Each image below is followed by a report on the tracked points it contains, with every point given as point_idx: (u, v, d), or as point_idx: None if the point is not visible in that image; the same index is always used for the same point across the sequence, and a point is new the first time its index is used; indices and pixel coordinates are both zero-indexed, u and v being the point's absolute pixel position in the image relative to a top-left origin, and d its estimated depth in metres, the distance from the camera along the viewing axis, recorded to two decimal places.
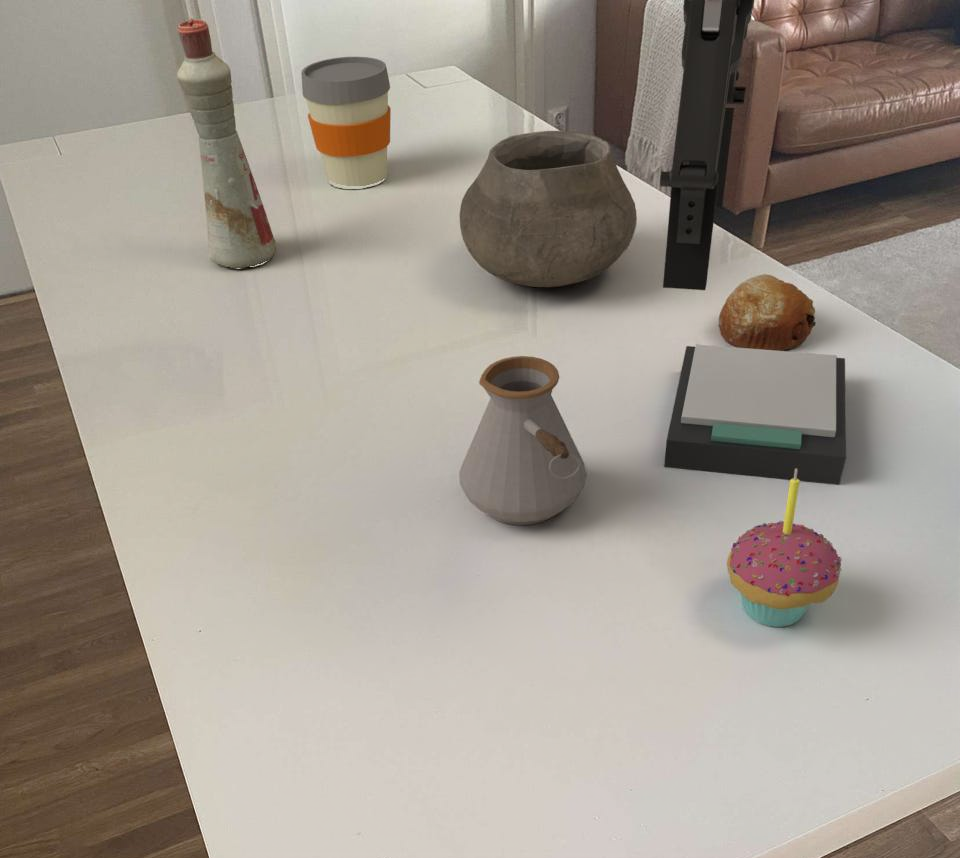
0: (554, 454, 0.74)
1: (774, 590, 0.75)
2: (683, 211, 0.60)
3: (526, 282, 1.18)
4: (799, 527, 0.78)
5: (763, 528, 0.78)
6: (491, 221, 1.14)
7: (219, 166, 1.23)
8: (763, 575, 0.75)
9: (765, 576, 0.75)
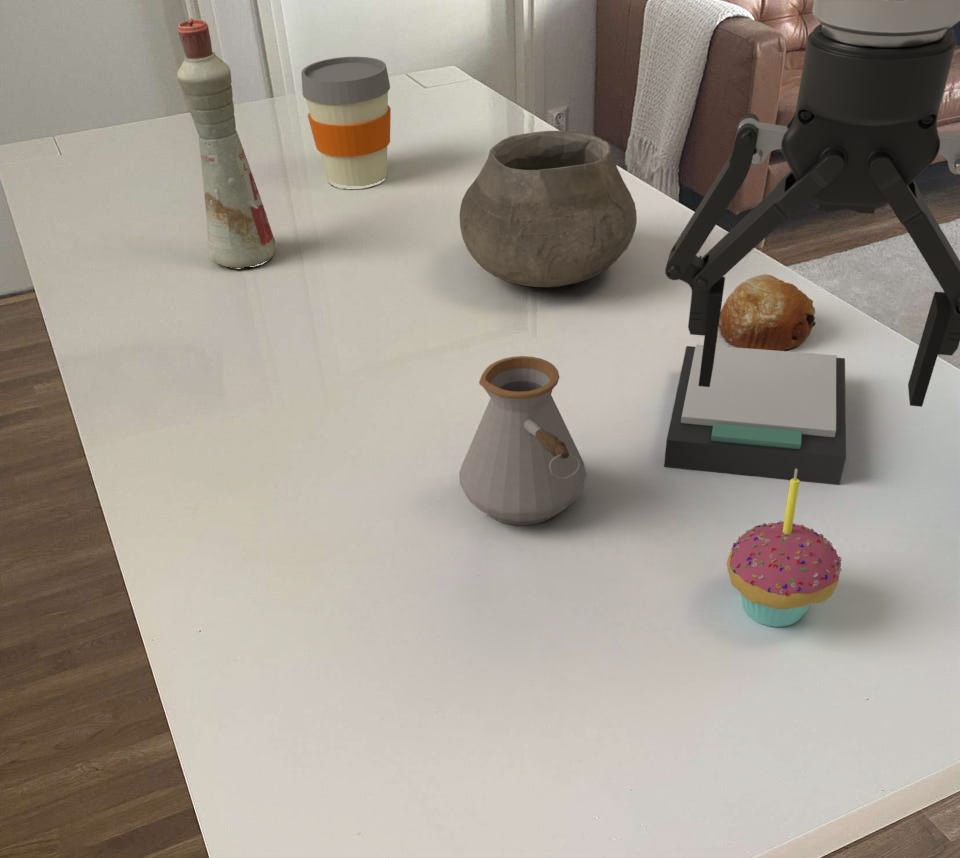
0: (554, 454, 0.74)
1: (774, 590, 0.75)
2: None
3: (526, 282, 1.18)
4: (799, 527, 0.78)
5: (763, 528, 0.78)
6: (491, 221, 1.14)
7: (219, 166, 1.23)
8: (763, 575, 0.75)
9: (765, 576, 0.75)
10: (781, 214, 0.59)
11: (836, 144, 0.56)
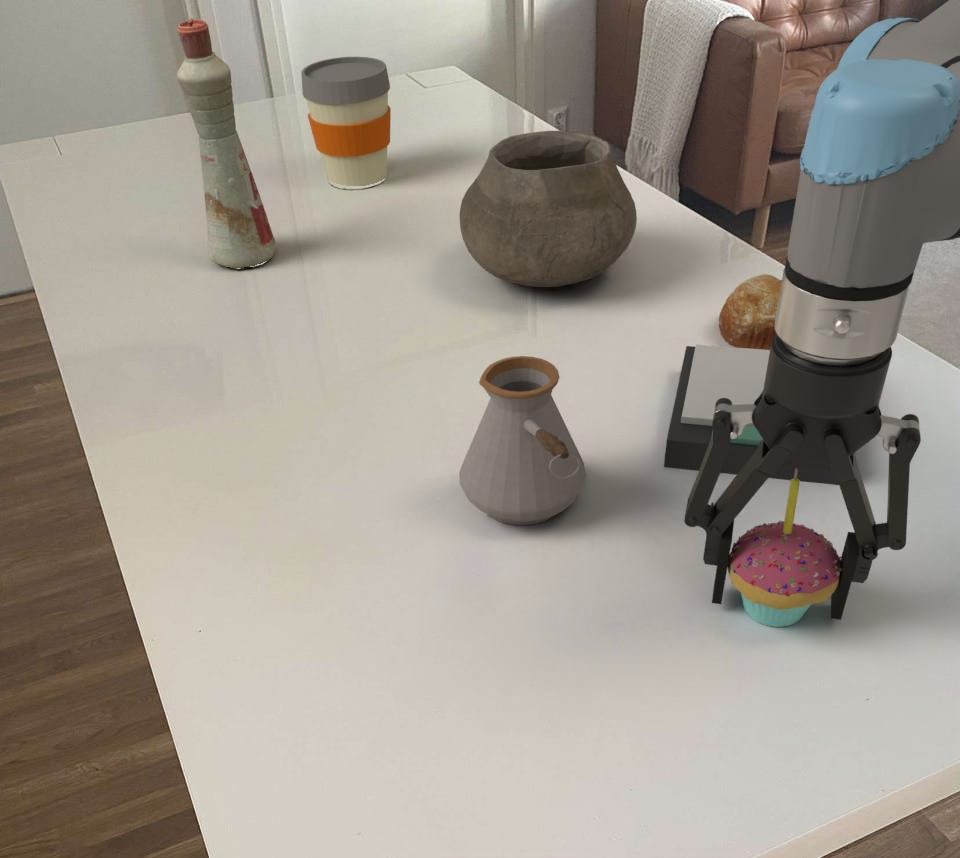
0: (554, 454, 0.74)
1: (775, 590, 0.75)
2: (871, 561, 0.75)
3: (526, 282, 1.18)
4: (799, 527, 0.78)
5: (763, 528, 0.78)
6: (491, 221, 1.14)
7: (219, 166, 1.23)
8: (763, 575, 0.75)
9: (765, 576, 0.75)
10: (764, 474, 0.71)
11: (797, 420, 0.68)
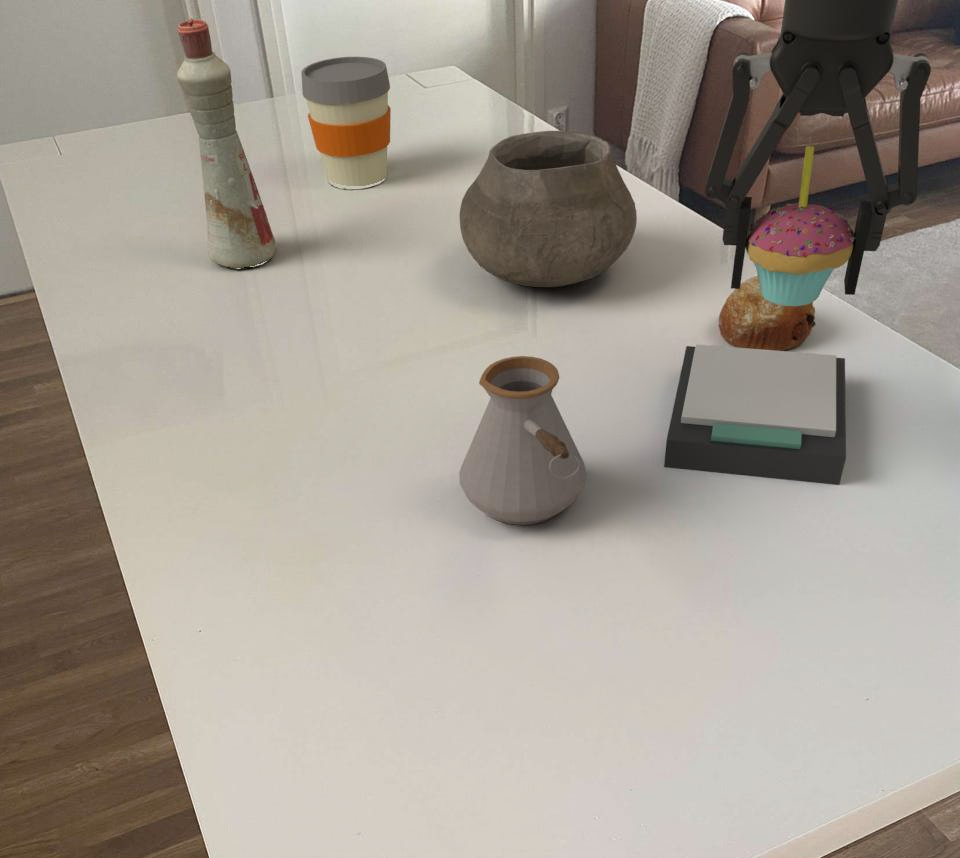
0: (554, 454, 0.74)
1: (792, 253, 0.79)
2: (883, 225, 0.79)
3: (526, 282, 1.18)
4: None
5: None
6: (491, 221, 1.14)
7: (219, 166, 1.23)
8: (781, 241, 0.79)
9: (783, 241, 0.79)
10: (782, 127, 0.75)
11: (813, 59, 0.72)
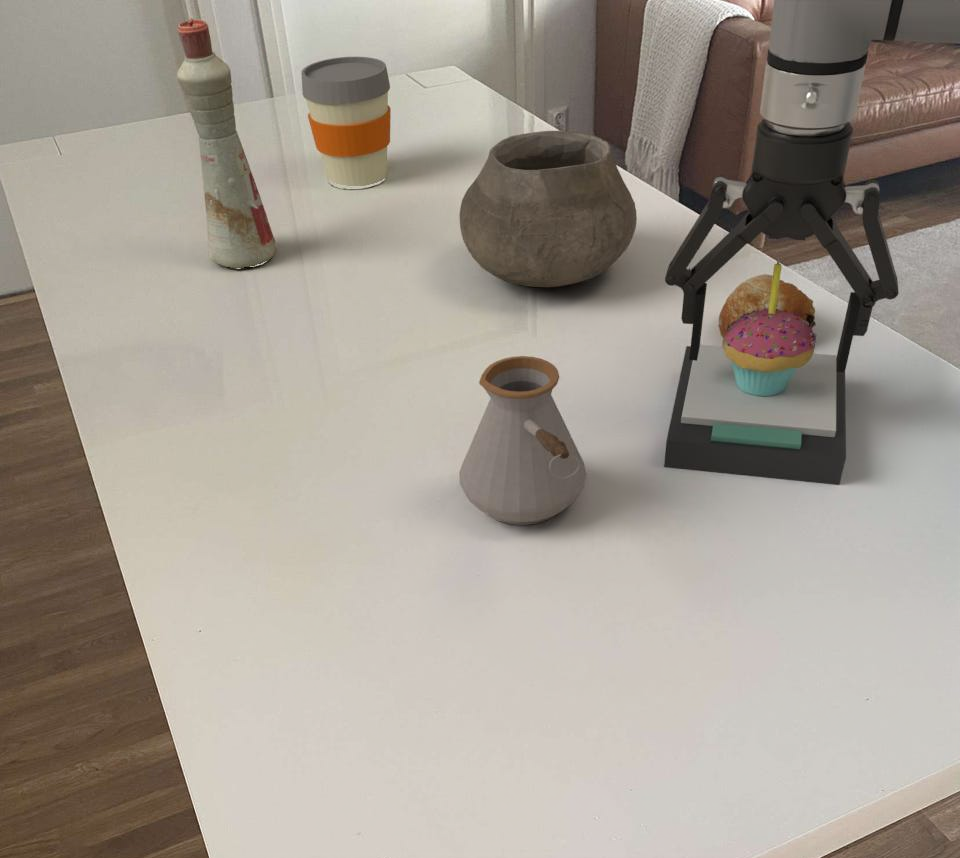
0: (554, 454, 0.74)
1: (761, 355, 0.92)
2: None
3: (526, 282, 1.18)
4: (782, 310, 0.95)
5: (752, 312, 0.95)
6: (491, 221, 1.14)
7: (219, 166, 1.23)
8: (752, 344, 0.92)
9: (753, 344, 0.92)
10: (743, 241, 0.88)
11: (778, 195, 0.85)
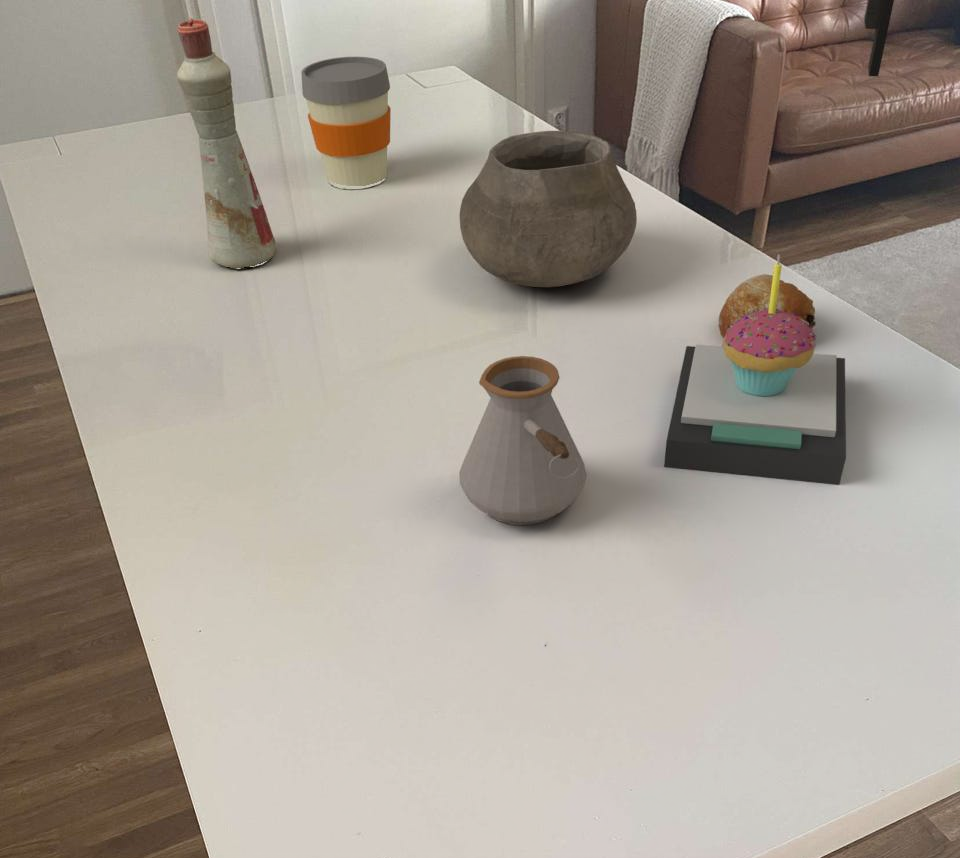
0: (554, 454, 0.74)
1: (761, 355, 0.92)
2: None
3: (526, 282, 1.18)
4: (782, 310, 0.95)
5: (752, 312, 0.95)
6: (491, 221, 1.14)
7: (219, 166, 1.23)
8: (752, 344, 0.92)
9: (753, 344, 0.92)
10: None
11: None
